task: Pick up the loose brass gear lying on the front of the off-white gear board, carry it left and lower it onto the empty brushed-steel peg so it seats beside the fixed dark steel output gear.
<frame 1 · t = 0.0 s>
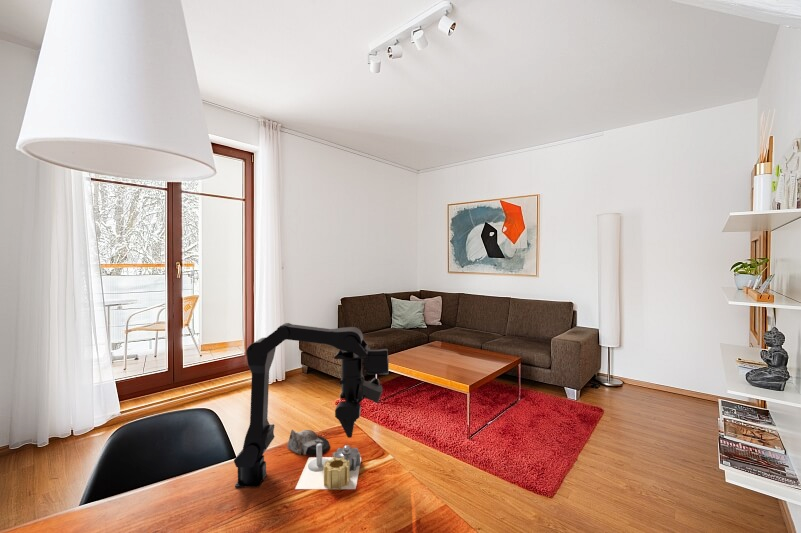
hand: (352, 429, 101), 15 cm above the table, fingers open, 9 cm apart
output gear: (346, 469, 107), resting on gear board
brass gear: (336, 481, 99), point 1 cm above the table, touching gear board
gear board: (330, 477, 103), on the table
caster wheel: (310, 453, 116), on the table
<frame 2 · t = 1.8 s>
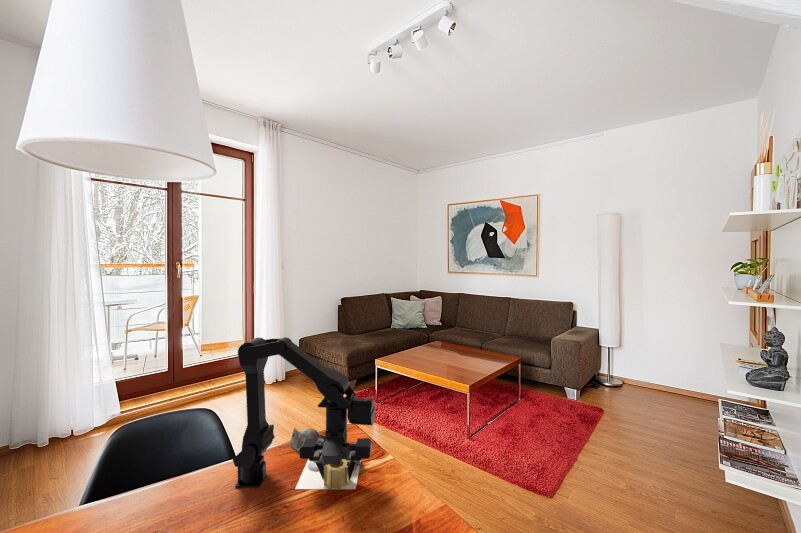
hand: (336, 478, 99), 2 cm above the table, fingers closed on brass gear, 7 cm apart
brass gear: (336, 481, 99), point 1 cm above the table, touching gear board, gripper
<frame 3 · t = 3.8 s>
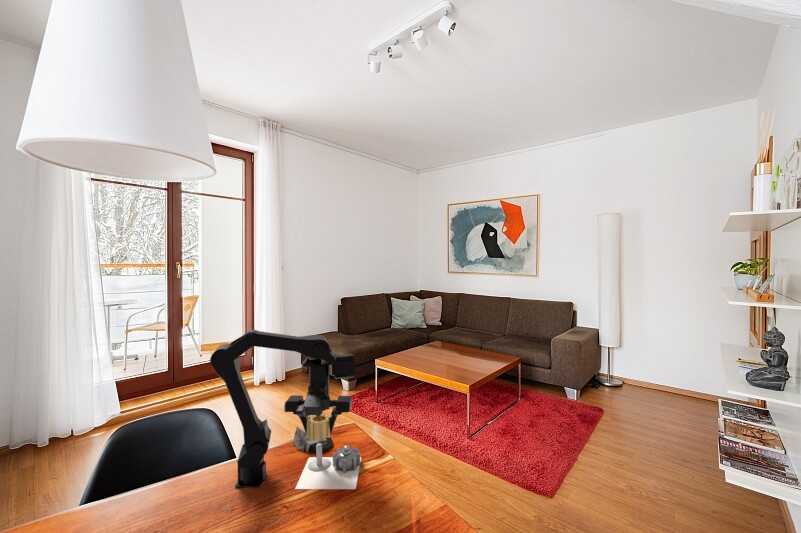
hand: (319, 432, 106), 11 cm above the table, fingers closed on brass gear, 7 cm apart
brass gear: (319, 435, 106), point 10 cm above the table, touching gripper
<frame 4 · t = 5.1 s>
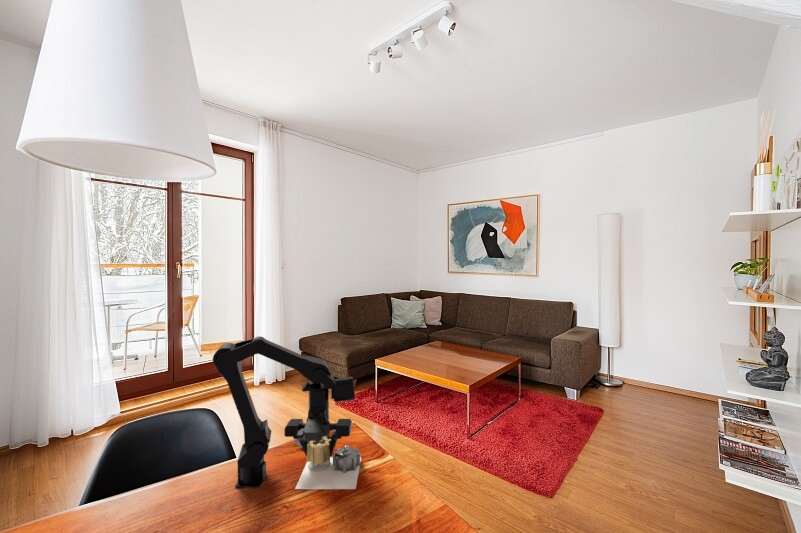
hand: (319, 455, 107), 4 cm above the table, fingers closed on brass gear, 7 cm apart
brass gear: (319, 458, 107), point 3 cm above the table, touching gripper
when the fingers open (4 cm above the table, at t = 5.7 s): brass gear drops 2 cm, resting on gear board.
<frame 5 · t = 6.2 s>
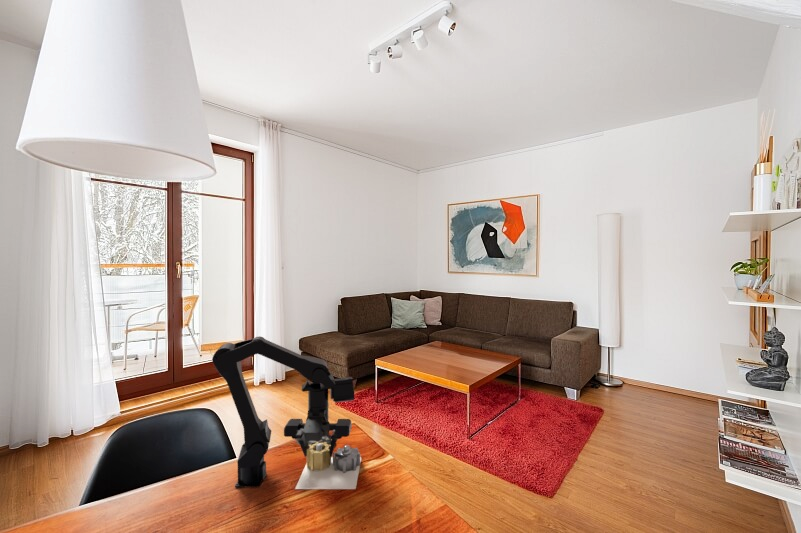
hand: (318, 455, 107), 4 cm above the table, fingers open, 7 cm apart
brass gear: (319, 464, 107), point 2 cm above the table, touching gear board
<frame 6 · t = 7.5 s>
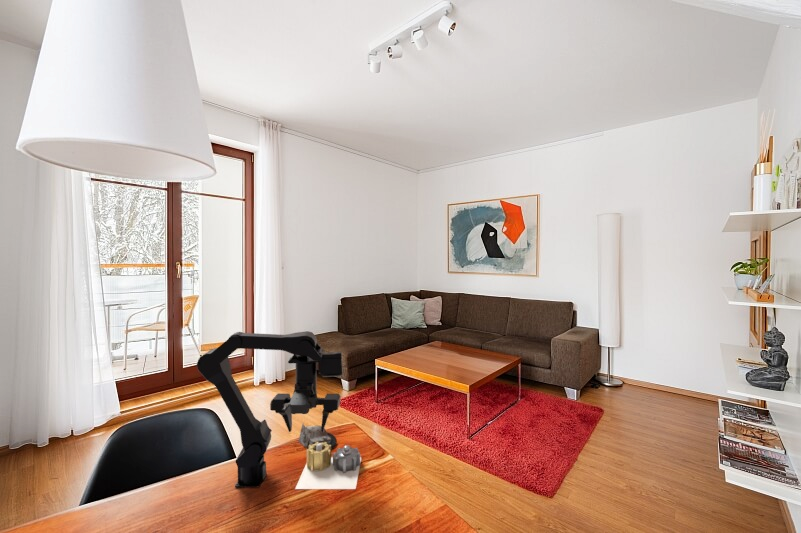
hand: (306, 431, 103), 13 cm above the table, fingers open, 9 cm apart
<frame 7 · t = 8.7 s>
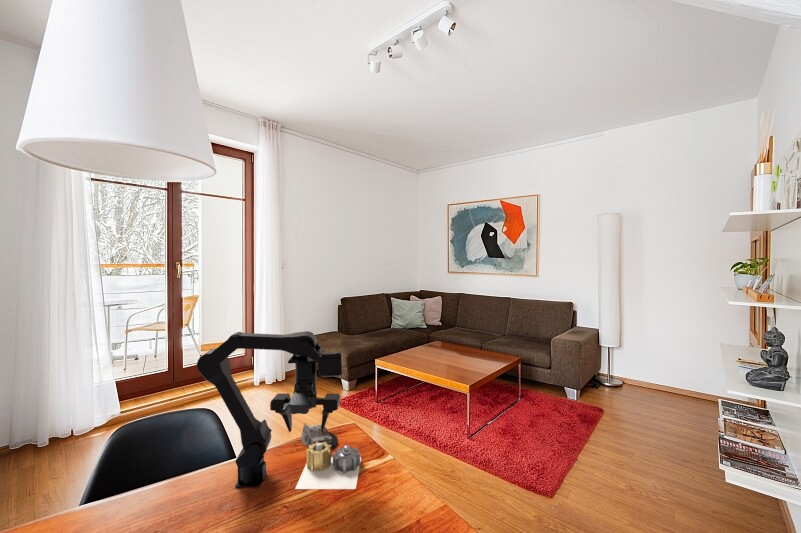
hand: (306, 431, 103), 13 cm above the table, fingers open, 9 cm apart
at the end: brass gear 0.1 cm from the target spot on the gear board, point 1.6 cm above the gear board's base; brass gear tilted 0°; the gripper is holding nothing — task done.
